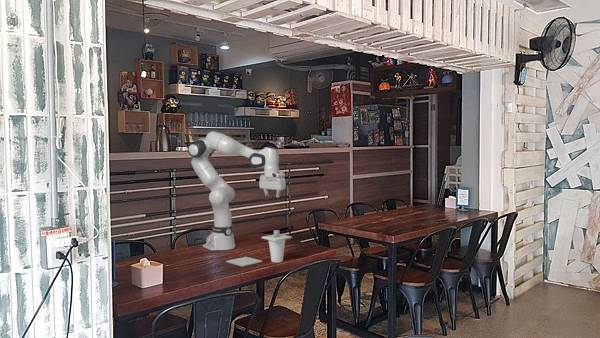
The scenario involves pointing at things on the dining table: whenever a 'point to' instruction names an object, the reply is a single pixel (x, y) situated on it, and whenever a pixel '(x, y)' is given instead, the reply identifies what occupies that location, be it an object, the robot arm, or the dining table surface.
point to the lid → (276, 236)
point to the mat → (244, 261)
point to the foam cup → (277, 250)
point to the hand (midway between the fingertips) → (272, 196)
